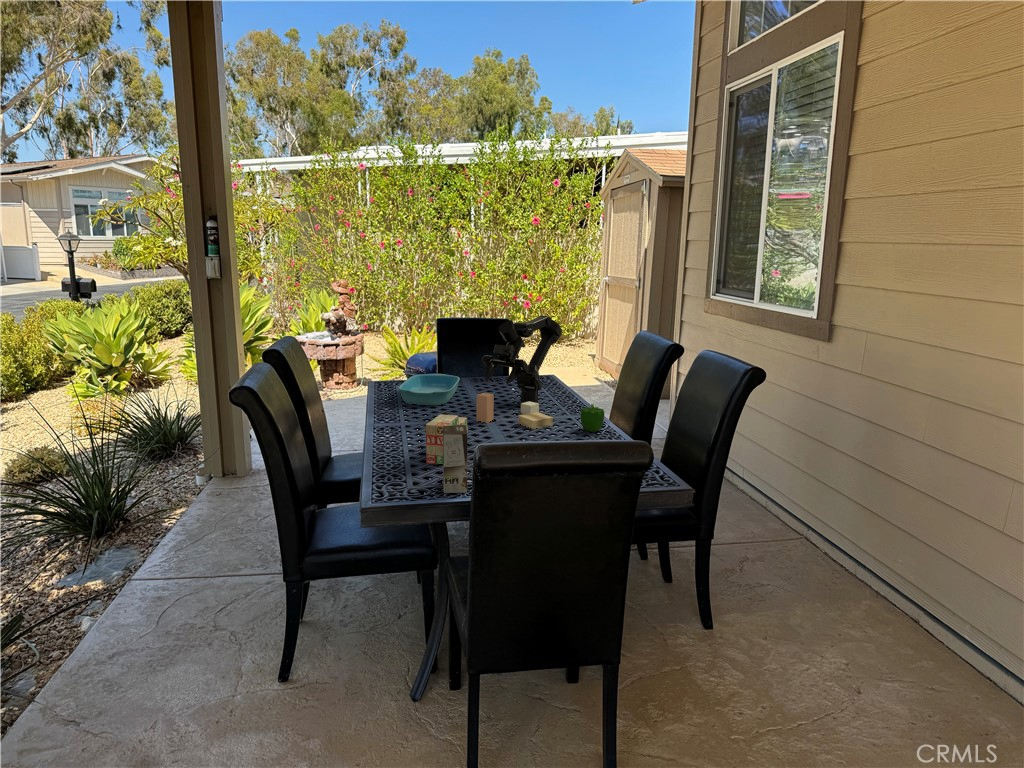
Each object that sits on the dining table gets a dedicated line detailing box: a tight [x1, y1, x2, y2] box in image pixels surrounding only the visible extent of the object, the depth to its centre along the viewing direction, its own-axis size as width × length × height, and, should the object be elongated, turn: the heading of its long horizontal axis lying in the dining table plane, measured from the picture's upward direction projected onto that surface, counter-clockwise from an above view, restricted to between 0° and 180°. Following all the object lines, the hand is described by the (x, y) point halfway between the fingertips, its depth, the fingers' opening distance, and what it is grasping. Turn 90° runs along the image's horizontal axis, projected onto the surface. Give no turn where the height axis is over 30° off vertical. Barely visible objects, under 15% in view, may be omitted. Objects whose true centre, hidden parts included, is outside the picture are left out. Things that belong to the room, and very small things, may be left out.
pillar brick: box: [476, 392, 495, 424], centre depth 241 cm, size 4×4×10 cm
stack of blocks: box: [425, 413, 469, 465], centre depth 202 cm, size 21×6×12 cm, turn 166°
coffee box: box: [442, 425, 469, 494], centre depth 173 cm, size 9×6×16 cm
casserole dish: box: [398, 373, 460, 406], centre depth 277 cm, size 37×22×7 cm, turn 175°
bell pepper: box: [580, 403, 605, 433], centre depth 231 cm, size 8×8×10 cm
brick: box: [520, 401, 540, 415], centre depth 254 cm, size 5×5×4 cm
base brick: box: [517, 411, 554, 430], centre depth 237 cm, size 9×9×4 cm
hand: (496, 382), depth 246 cm, fingers open, 9 cm apart
